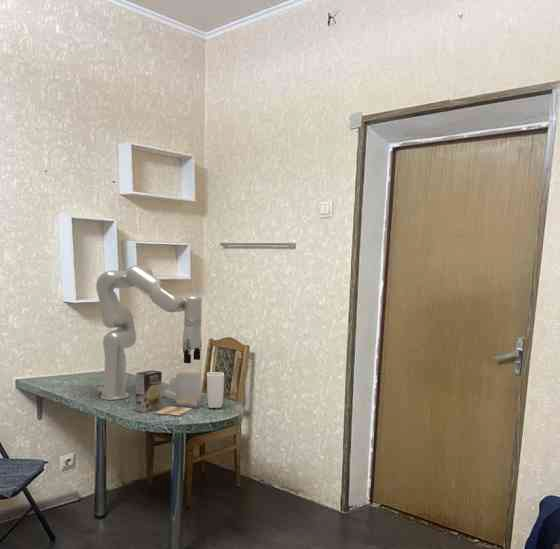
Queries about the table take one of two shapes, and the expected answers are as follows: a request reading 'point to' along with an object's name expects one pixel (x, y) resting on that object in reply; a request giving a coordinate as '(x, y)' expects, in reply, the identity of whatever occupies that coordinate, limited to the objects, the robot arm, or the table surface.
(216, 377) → the cup
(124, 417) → the table surface
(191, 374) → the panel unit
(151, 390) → the coffee box
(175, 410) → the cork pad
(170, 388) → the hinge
